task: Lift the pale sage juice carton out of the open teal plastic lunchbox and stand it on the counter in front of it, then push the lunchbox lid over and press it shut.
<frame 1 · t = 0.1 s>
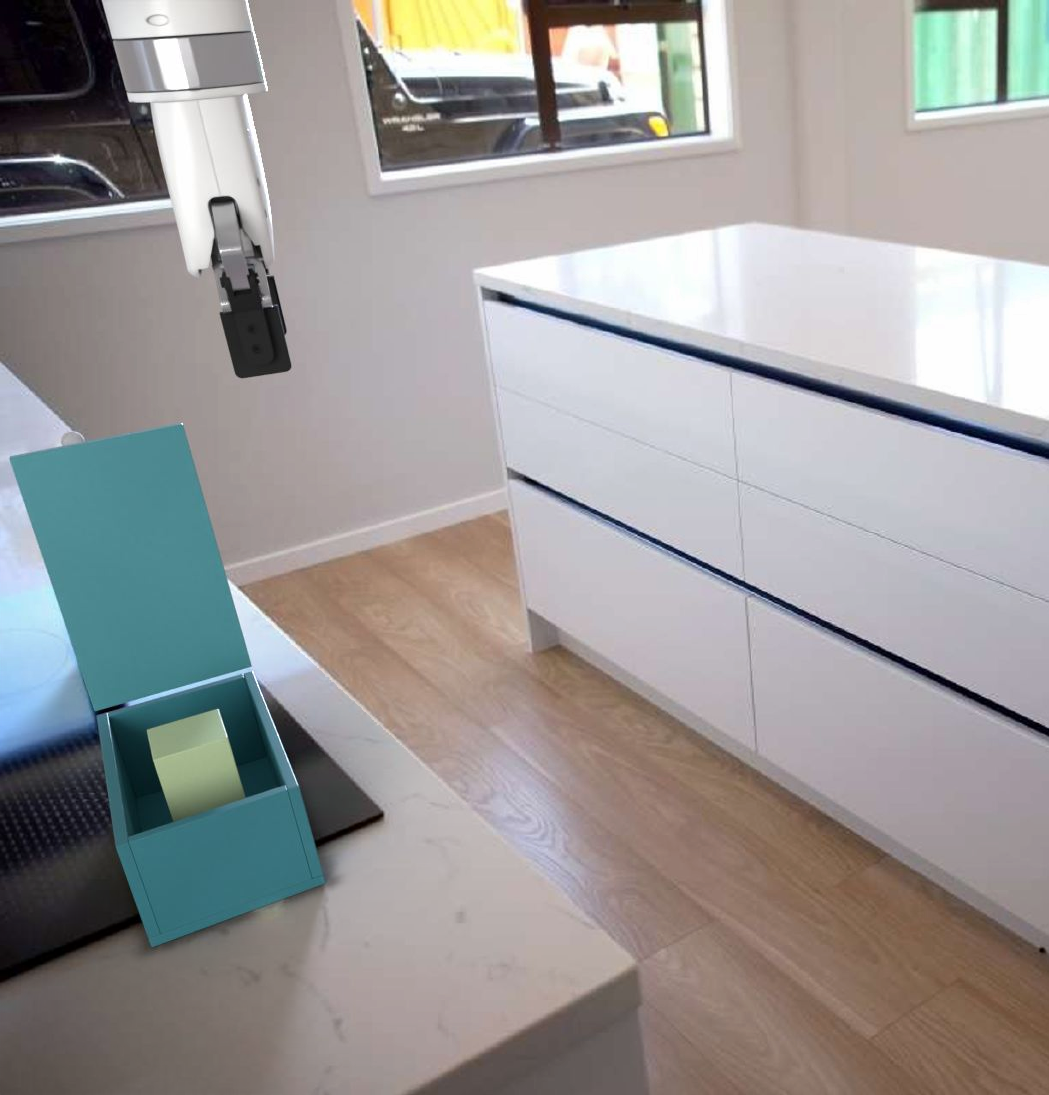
hand: (263, 355, 80), 32 cm above the worktop, tool pointing down, fingers open, 9 cm apart
carton: (221, 845, 85), point 1 cm above the worktop, touching lunchbox
lunchbox lid: (136, 560, 88), point 17 cm above the worktop, hinge at 95.0°
lunchbox: (221, 842, 86), on the worktop
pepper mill: (135, 637, 116), on the worktop
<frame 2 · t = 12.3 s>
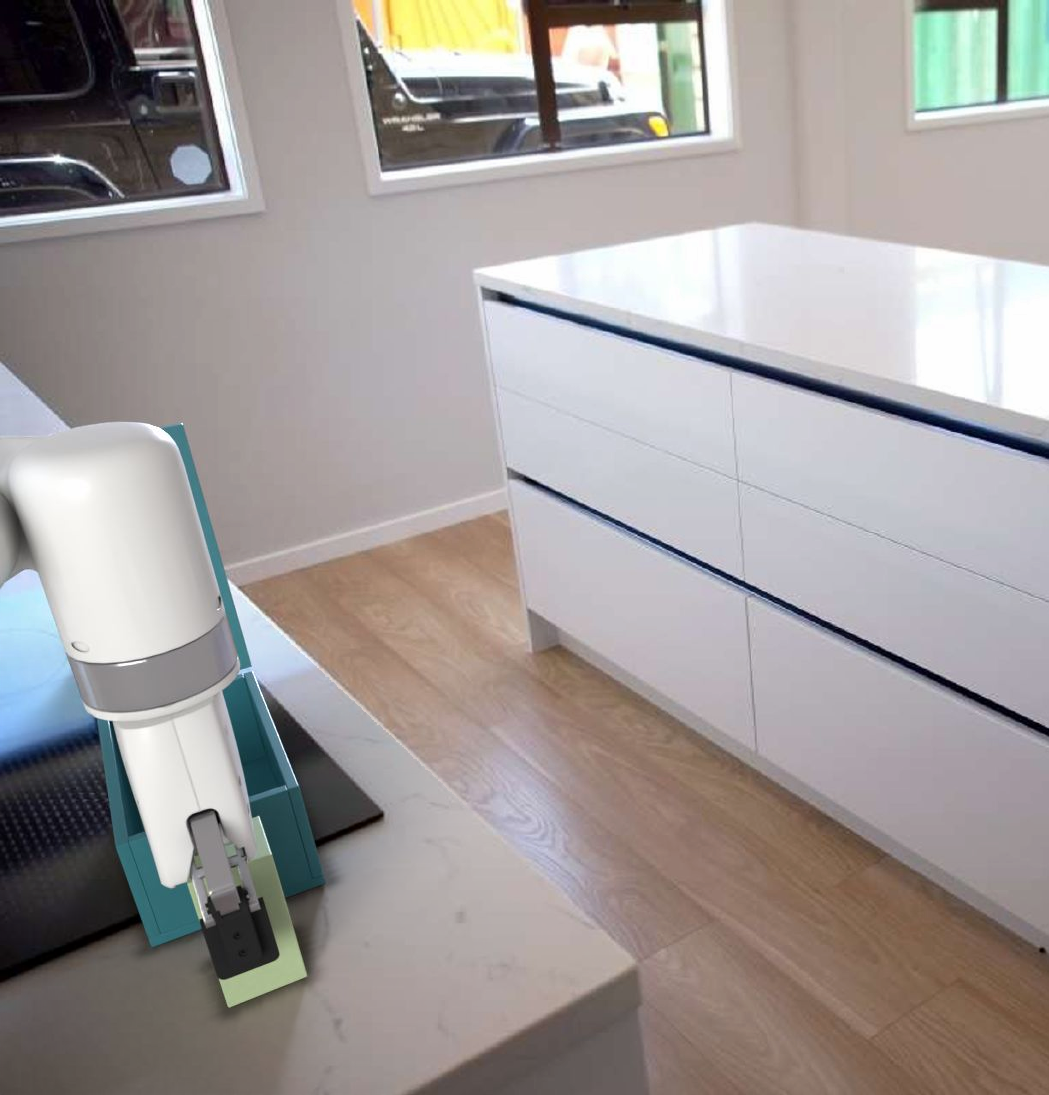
hand: (238, 920, 72), 4 cm above the worktop, tool pointing down, fingers open, 8 cm apart
carton: (262, 970, 74), on the worktop
everything else where it was.
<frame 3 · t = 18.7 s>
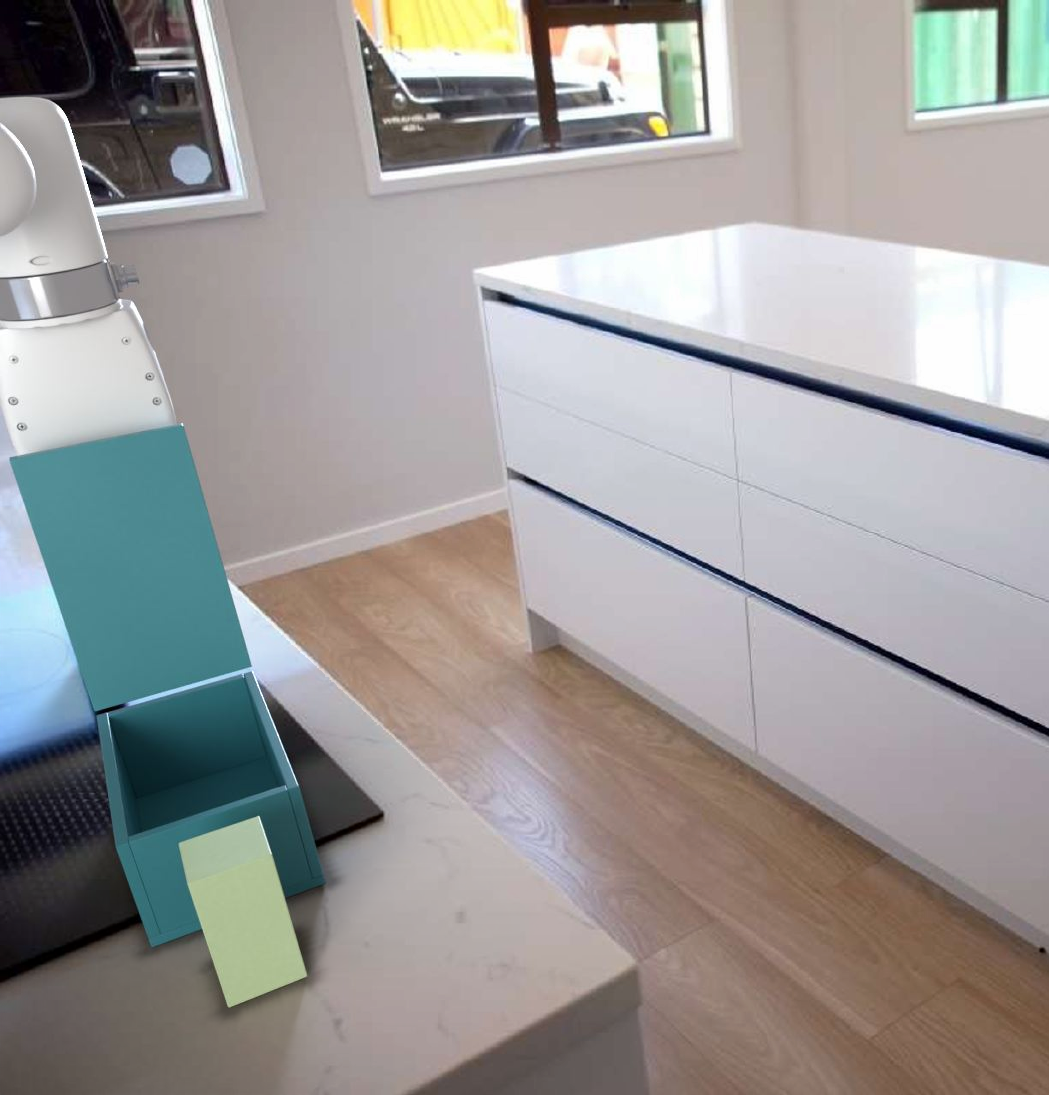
hand: (131, 542, 91), 17 cm above the worktop, tool pointing down, fingers closed
lunchbox lid: (136, 560, 88), point 17 cm above the worktop, hinge at 93.9°, touching gripper
everything else where it was.
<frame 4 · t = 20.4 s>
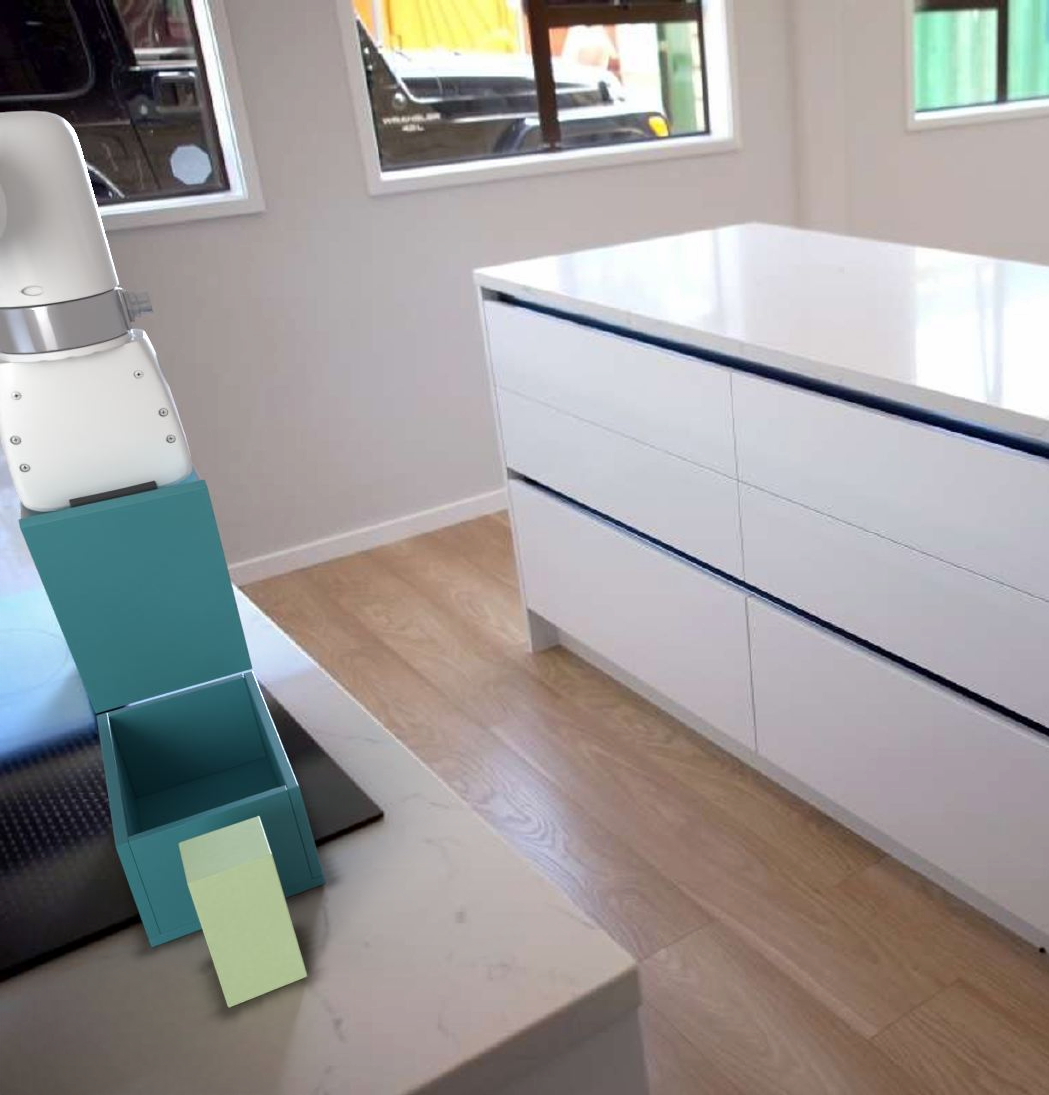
hand: (141, 589, 85), 17 cm above the worktop, tool pointing down, fingers closed
lunchbox lid: (141, 581, 84), point 17 cm above the worktop, hinge at 65.8°, touching gripper
everything else where it was.
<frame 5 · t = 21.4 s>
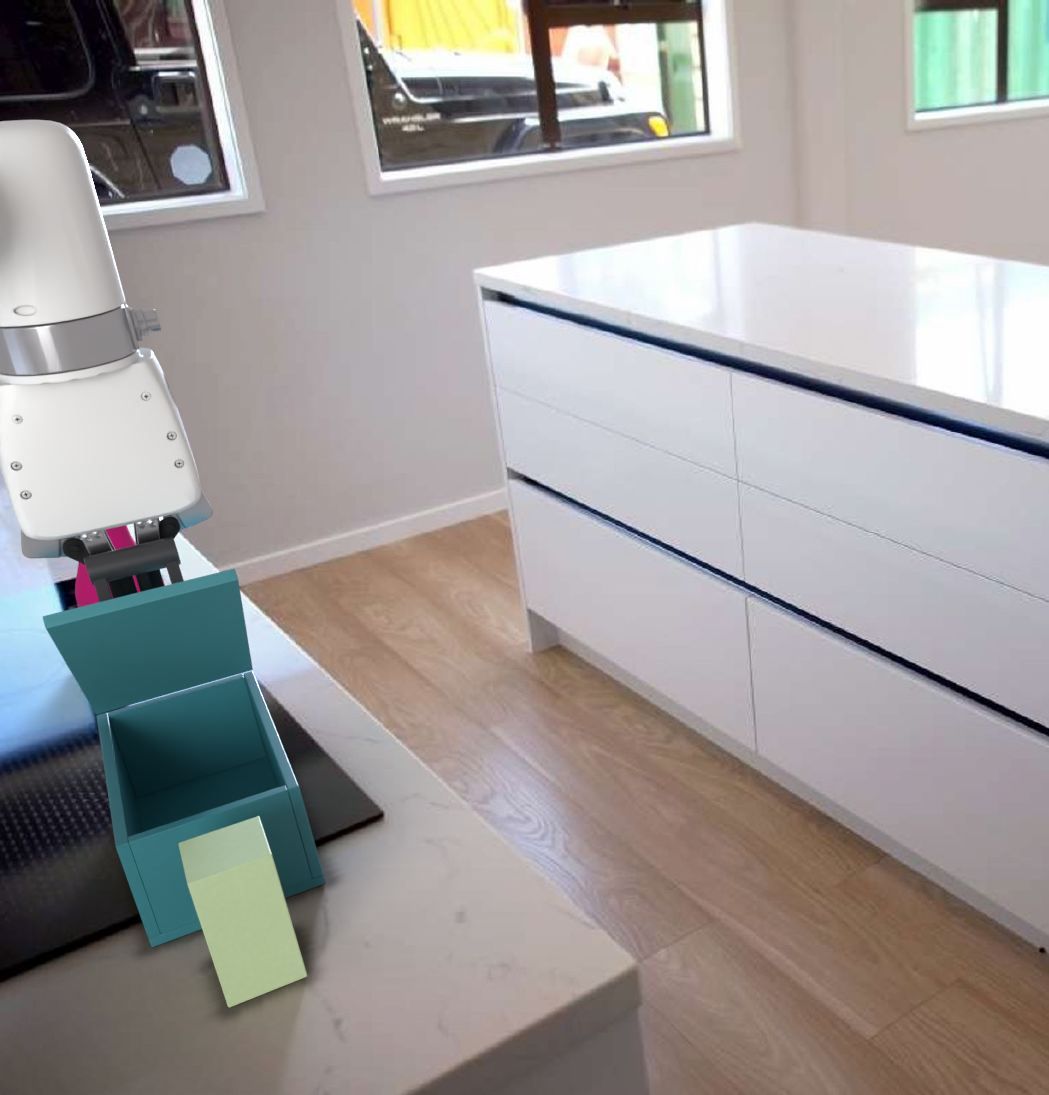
hand: (147, 619, 81), 17 cm above the worktop, tool pointing down, fingers closed
lunchbox lid: (152, 619, 82), point 16 cm above the worktop, hinge at 43.3°, touching gripper
everything else where it was.
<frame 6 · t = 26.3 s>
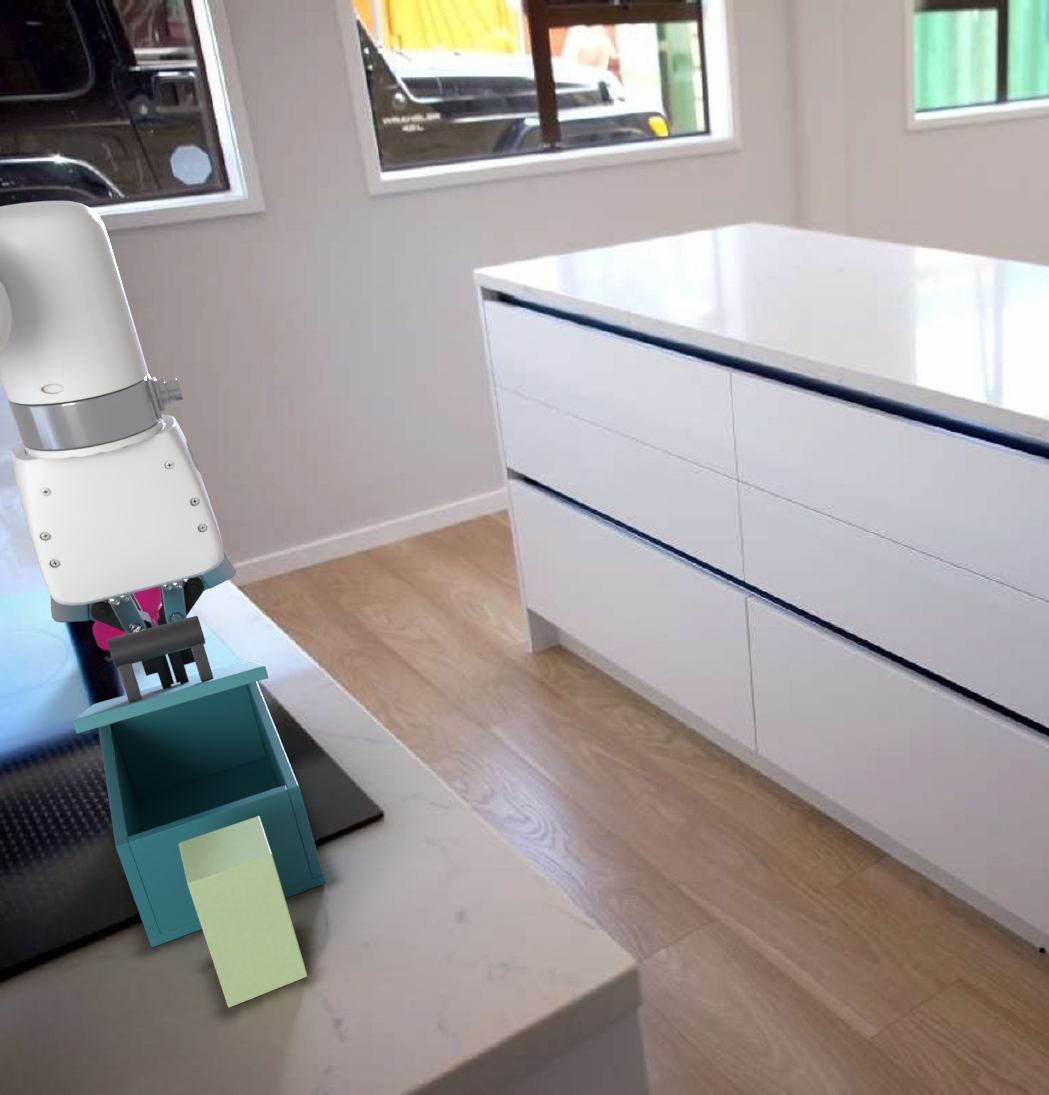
hand: (173, 676, 83), 12 cm above the worktop, tool pointing down, fingers closed
lunchbox lid: (165, 662, 81), point 14 cm above the worktop, hinge at 23.5°, touching gripper
everything else where it was.
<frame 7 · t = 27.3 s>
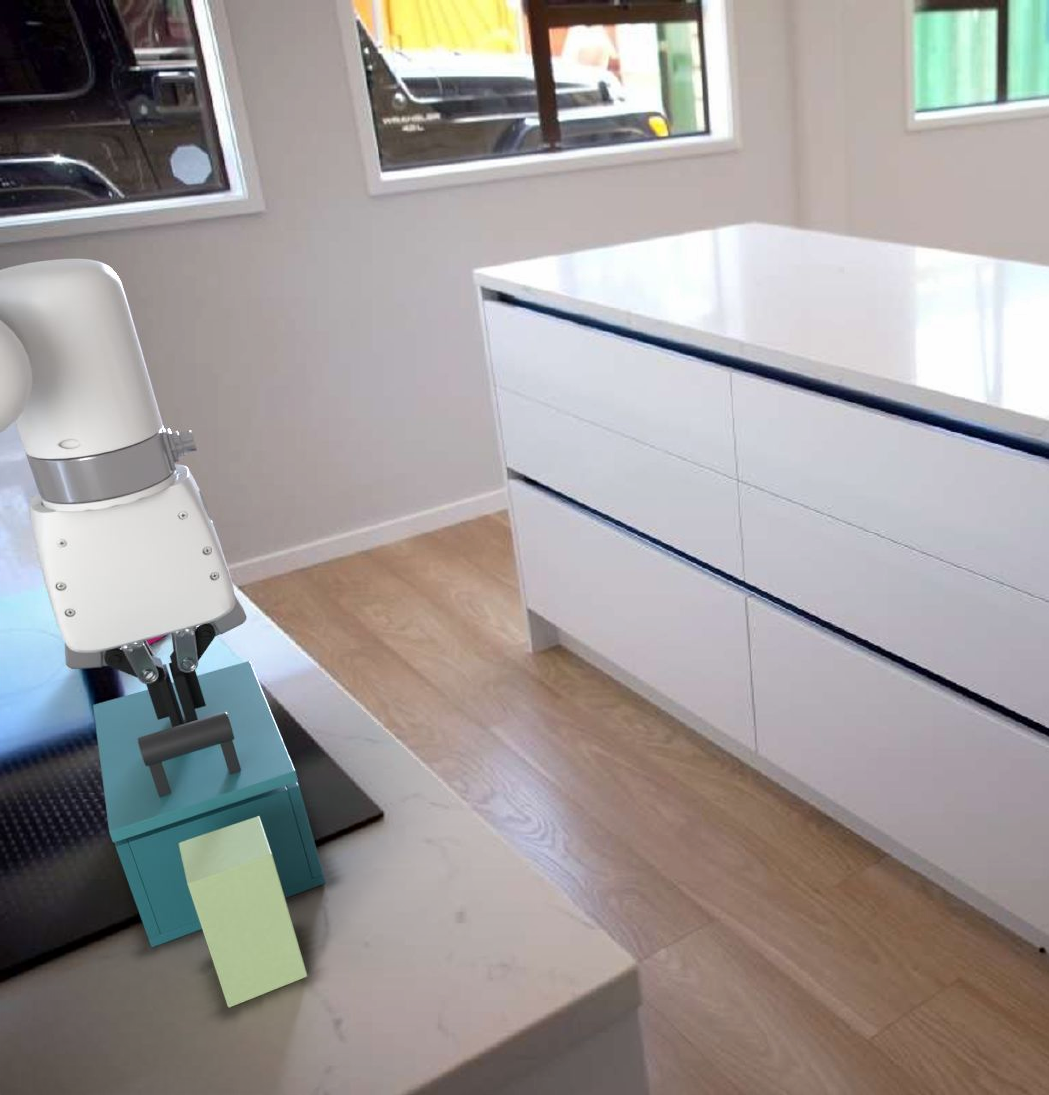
hand: (184, 720, 84), 9 cm above the worktop, tool pointing down, fingers closed
lunchbox lid: (181, 714, 82), point 10 cm above the worktop, hinge at 1.9°, touching gripper
everything else where it was.
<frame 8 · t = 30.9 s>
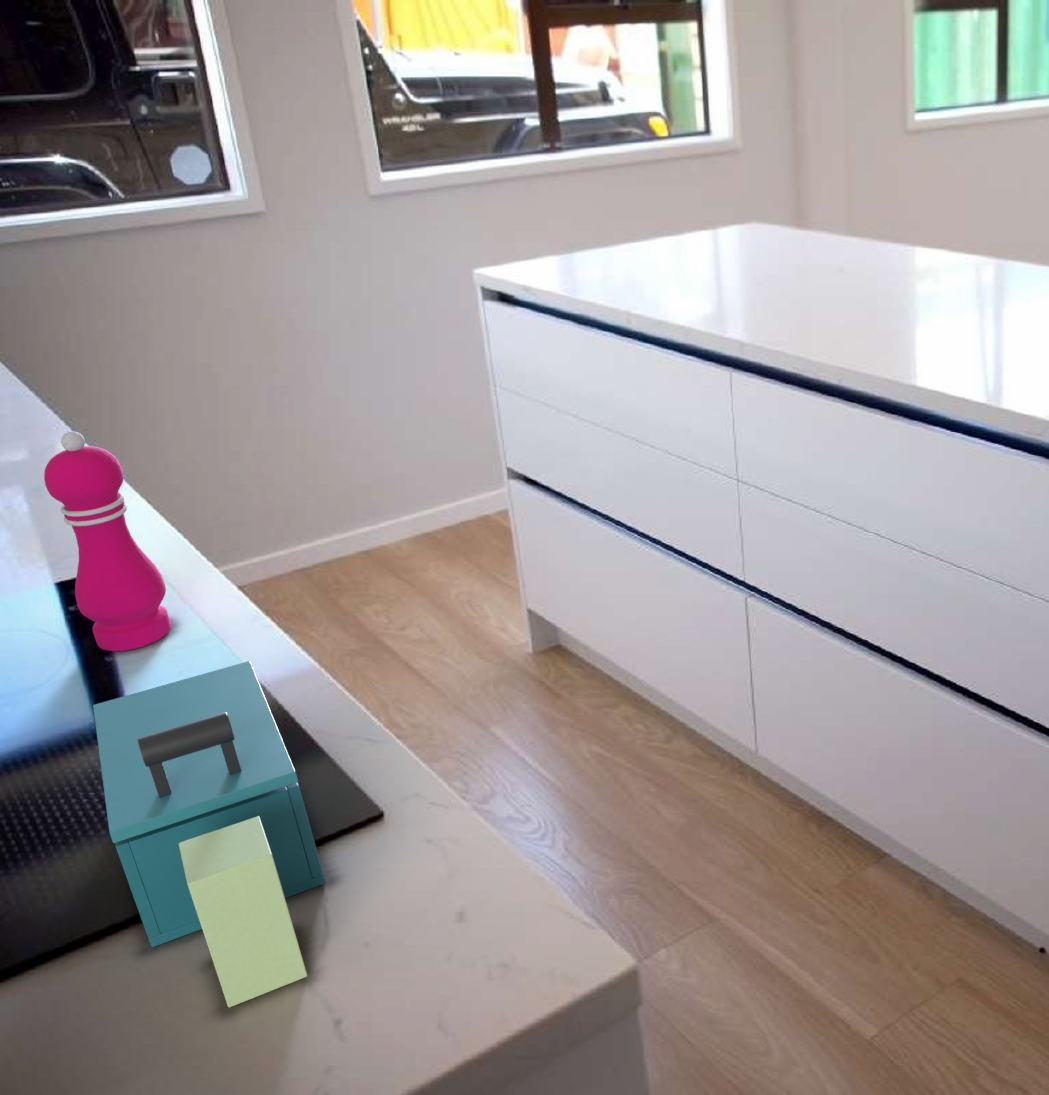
lunchbox lid: (181, 715, 82), point 10 cm above the worktop, hinge at 1.8°
everything else where it was.
at the end: carton inside the target area (0.2 cm from its centre), on the worktop; carton tilted 0°; lunchbox lid at +2° (first picture: +95°) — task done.
